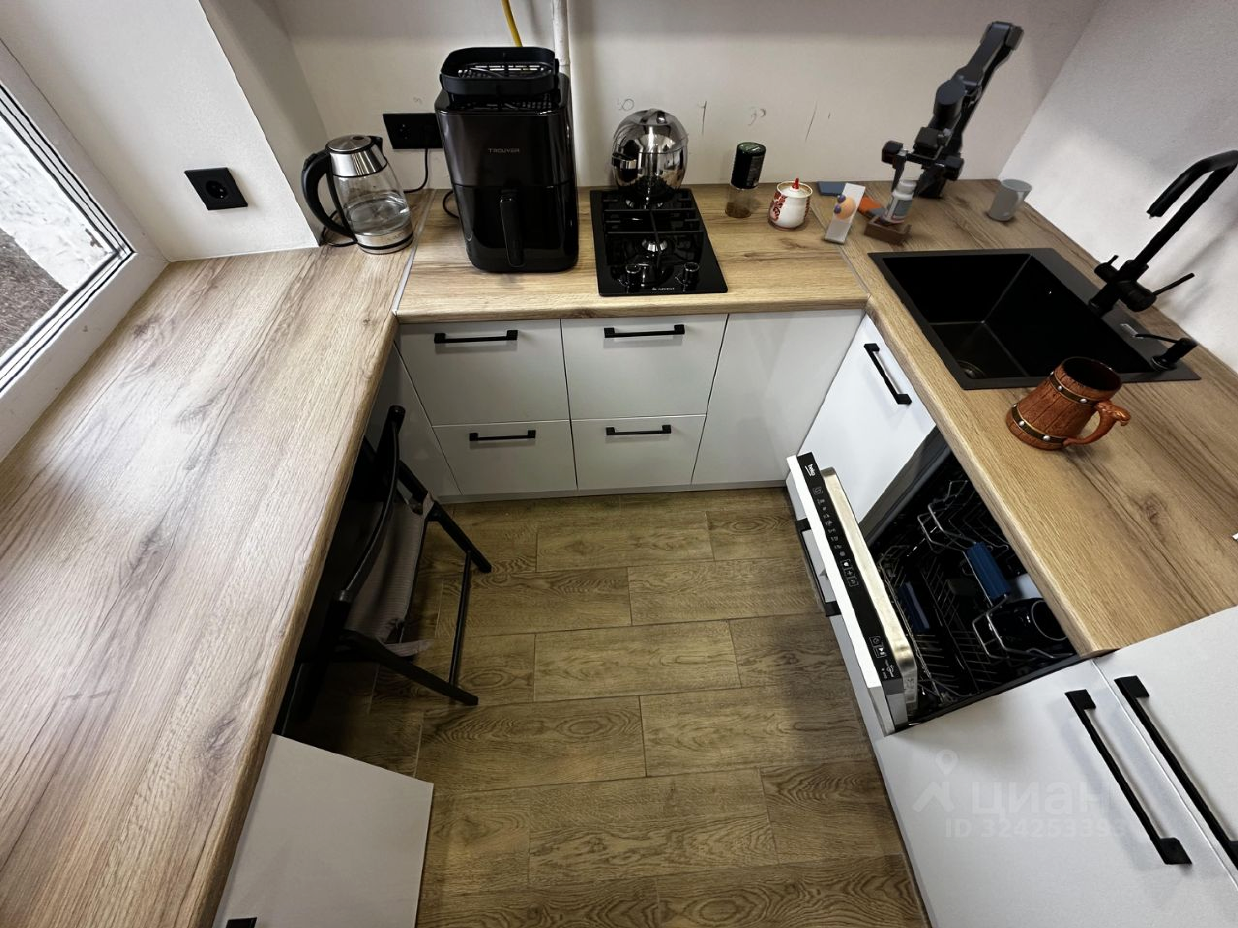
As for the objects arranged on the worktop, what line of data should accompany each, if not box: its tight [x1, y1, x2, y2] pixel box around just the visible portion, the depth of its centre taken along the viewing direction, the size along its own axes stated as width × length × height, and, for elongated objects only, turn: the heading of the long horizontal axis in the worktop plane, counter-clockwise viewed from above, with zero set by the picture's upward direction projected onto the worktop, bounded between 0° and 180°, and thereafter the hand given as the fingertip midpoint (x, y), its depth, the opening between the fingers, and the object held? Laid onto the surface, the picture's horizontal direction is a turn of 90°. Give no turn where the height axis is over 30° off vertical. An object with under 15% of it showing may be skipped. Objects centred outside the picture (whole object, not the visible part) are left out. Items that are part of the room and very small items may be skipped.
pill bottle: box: [883, 179, 917, 224], centre depth 132 cm, size 5×5×9 cm
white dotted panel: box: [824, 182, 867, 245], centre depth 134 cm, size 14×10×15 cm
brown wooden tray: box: [863, 215, 913, 246], centre depth 137 cm, size 6×9×3 cm
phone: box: [857, 196, 896, 227], centre depth 145 cm, size 6×1×15 cm
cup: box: [987, 178, 1033, 222], centre depth 142 cm, size 8×10×8 cm
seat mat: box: [816, 180, 864, 198], centre depth 155 cm, size 12×8×1 cm, turn 84°
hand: (902, 194), depth 129 cm, fingers closed on pill bottle, 5 cm apart
